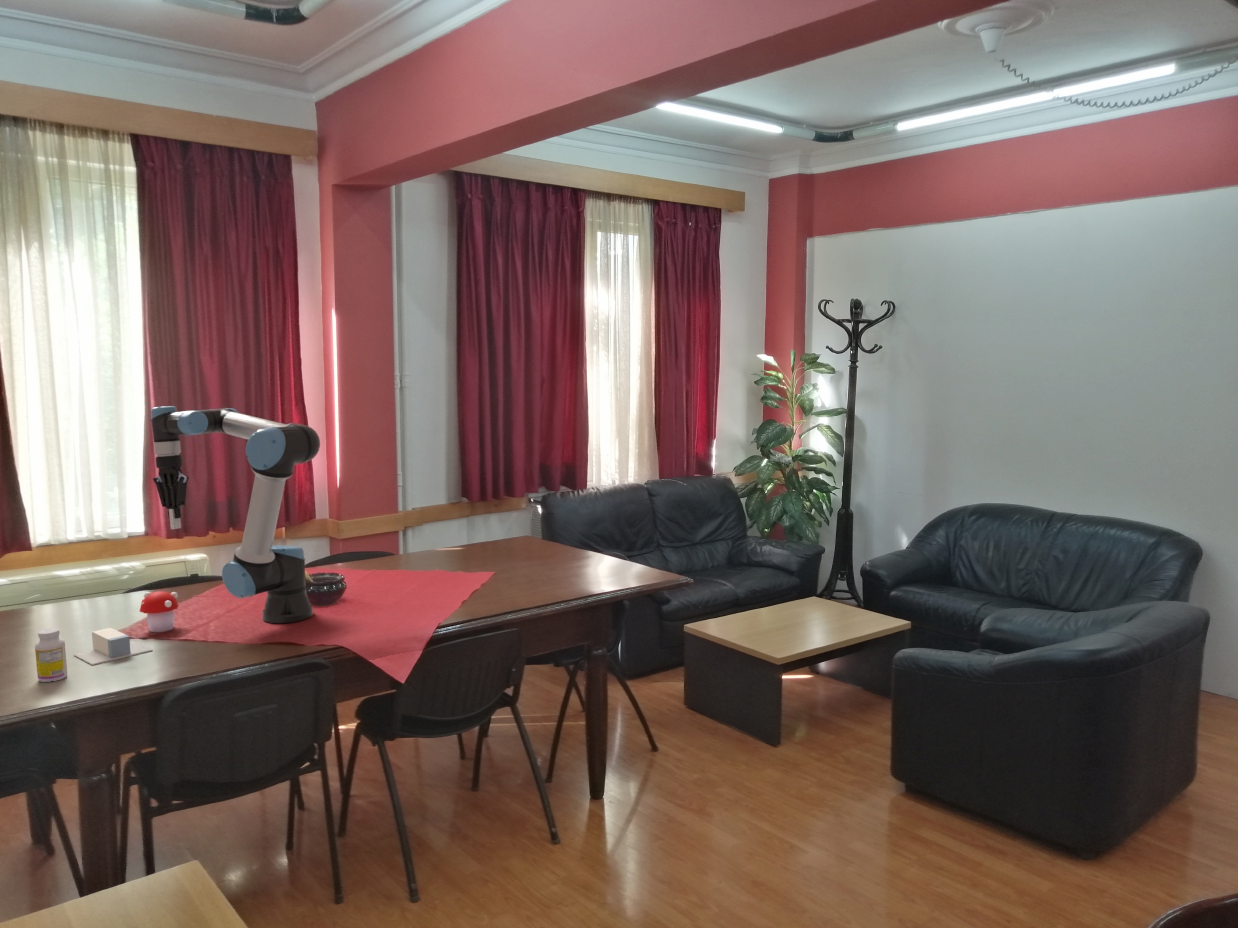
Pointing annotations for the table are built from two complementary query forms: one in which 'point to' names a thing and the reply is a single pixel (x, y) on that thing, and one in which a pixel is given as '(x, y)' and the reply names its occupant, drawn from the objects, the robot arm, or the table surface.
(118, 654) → the cream block
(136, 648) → the felt mat
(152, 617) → the mushroom
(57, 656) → the supplement bottle
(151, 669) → the table surface
